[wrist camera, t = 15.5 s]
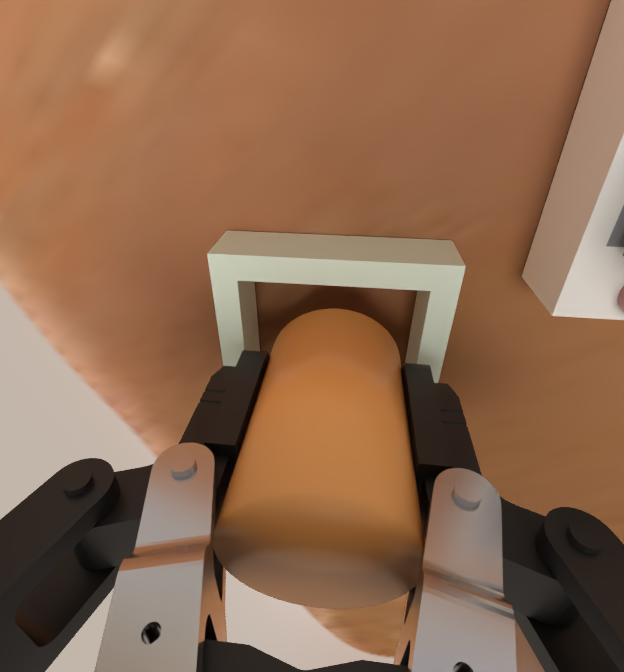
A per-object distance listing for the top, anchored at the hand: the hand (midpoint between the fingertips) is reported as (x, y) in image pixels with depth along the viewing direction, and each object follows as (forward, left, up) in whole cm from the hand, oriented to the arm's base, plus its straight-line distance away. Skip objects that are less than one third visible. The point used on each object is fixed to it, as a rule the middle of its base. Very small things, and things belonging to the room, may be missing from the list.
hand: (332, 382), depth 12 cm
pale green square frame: (0, 0, -3) cm, 3 cm away
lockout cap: (0, 0, -1) cm, 1 cm away
